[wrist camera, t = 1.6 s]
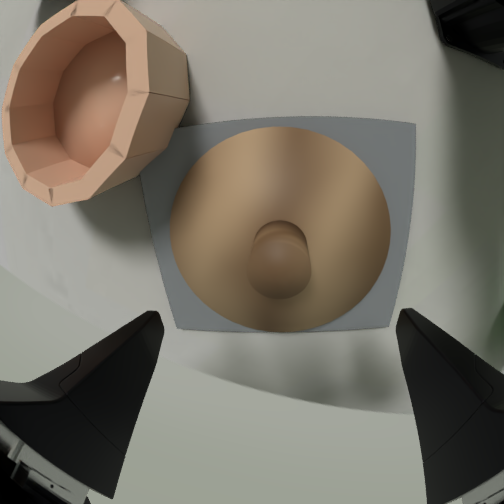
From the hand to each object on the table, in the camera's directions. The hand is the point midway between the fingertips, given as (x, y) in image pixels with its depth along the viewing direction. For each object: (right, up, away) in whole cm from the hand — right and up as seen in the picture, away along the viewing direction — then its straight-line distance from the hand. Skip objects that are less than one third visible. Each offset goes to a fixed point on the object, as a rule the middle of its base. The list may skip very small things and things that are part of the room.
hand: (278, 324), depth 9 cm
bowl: (-10, +12, +4) cm, 16 cm away
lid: (+1, +3, +7) cm, 7 cm away
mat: (+1, +3, +7) cm, 8 cm away
